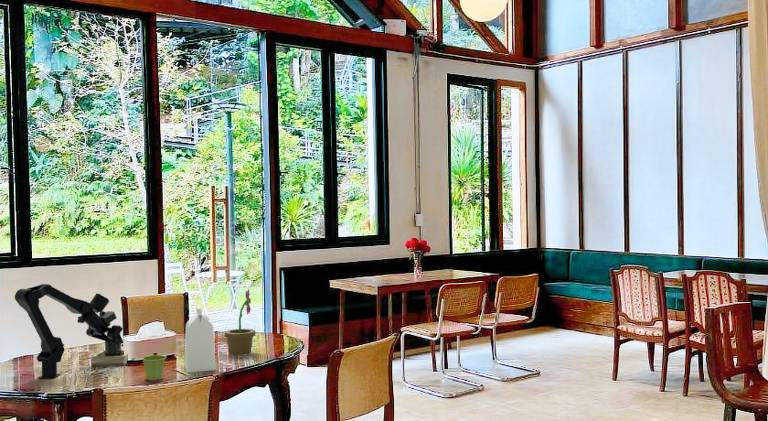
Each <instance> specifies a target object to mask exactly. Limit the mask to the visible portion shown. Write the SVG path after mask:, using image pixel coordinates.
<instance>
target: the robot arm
mask: <svg viewBox="0 0 768 421" xmlns="http://www.w3.org/2000/svg"><path fill="white" fill-rule="evenodd" d="M45 296H47V297H48V298H50V299H52V300H53V301H56V302H57V303H60V304H62V305H63V306H65V308H66V309H67V310H68V311H69V312H70V313H71V314H73V315H74V314H75V315H80V316H78V317H77V323H79V324H84V323H85V324H86V325H87V329H86V331H85V334H86V335H87V337H91V338H92V339H93V338H94V339H97V340H101V341H104V342H105V340H106V339H107V338H109V339H110V340H113V341H115V342H118V343H121V345H123V343H124V340H123V338H122V335H121V332H122V331H123V327H122V326H121V325H118V324H117V325H116V324H114V325H112V324H111V323H112V322H113V321H115V320H117V318H118V317H117V315H116V312H115V311H111V310H110V311H104V310H105V309H106V308H107V306H108V304H109V303H110V300H109V298H108V297H105V296H104V295H102V294H100V293H95V295H94V297H93V298H91V299H92V300H91V301H90V302H89V301H86V300H83V299H79V298H75V297H72V296H70V295H69V294H66V293H65V292H63V291H61V290H59V289H57V288H56V287H54V286H52V285H51V284H48V283H41V284H39V285H36V286H32V287H27V288H20V289H17V290H16V292H15V295H14V300H15V301H16V303H17V304H18V305H19V307H20V308H22V309H23V310H24V311H25V312H26V313H27V315H28V317H29V319H30V320H31V323H32V325H33V328H35V329H34V330H35V331H36V333H37V335H38V337H39V339H40V341H41V342H40V347H41V348H40V349H41V351H40V352H39V354H38V355H37V356H36V359H37V362H38V363H41V375H40V376H38V377H37V378H38V379H55V378H57V377H58V376H61V373H58V363H60V362H62V361H61V360H62V358H63V355H64V353H65V344H64V343H63V341H62V338H61V337H59V336H54V335H53V333H52V330H51V328H50V327H49V324H48V323H47V321H46V319H45V317H44V315H43V313H42V310H41V308H40V299H42V298H43V297H45ZM98 313H99V315H98ZM111 325H112V326H111ZM110 326H111V327H110Z"/></svg>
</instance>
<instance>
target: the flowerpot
mask: <svg viewBox="0 0 768 421" xmlns="http://www.w3.org/2000/svg"><path fill="white" fill-rule="evenodd" d="M245 299H246V300H245V301H244V303H243V304H242V306H241V308H240V310H239V317H238V328H235V329H233V328H232V329H228V330H225V331H224V337H225V338H226V339H227V347H228V354H229V355H231V356H246V355H245V354H247V355H250V354H251V353H252V348H253V339H254V337H255V336H256V330H255V329H254V328H253V329H252V328H242V317H243V310H244V308H245V306H246V309H245V310H246V315H247V316H248V315H249V314H251V305H250V304H251V303H252V302H251V301H252V300H251V299H252V298H251V297H250V289H247V290H245ZM249 353H250V354H249Z"/></svg>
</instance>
